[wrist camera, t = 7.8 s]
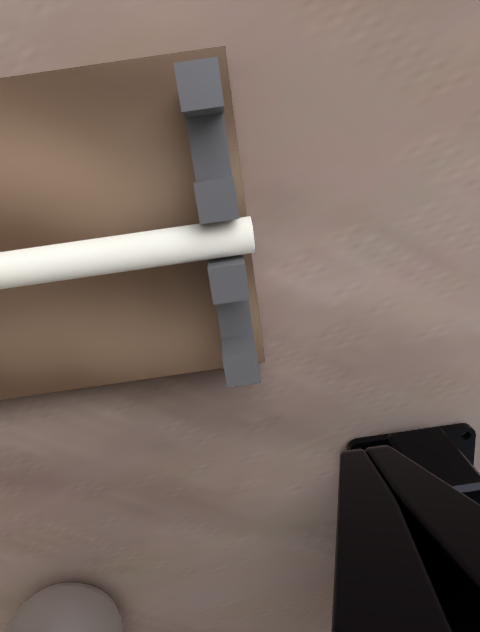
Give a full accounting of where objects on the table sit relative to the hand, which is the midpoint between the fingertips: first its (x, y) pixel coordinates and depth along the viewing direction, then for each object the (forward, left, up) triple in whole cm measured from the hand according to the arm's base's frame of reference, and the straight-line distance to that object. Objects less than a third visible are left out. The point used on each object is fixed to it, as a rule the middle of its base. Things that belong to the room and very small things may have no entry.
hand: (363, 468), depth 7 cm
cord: (+3, +11, -9) cm, 14 cm away
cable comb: (+3, +2, -11) cm, 11 cm away
